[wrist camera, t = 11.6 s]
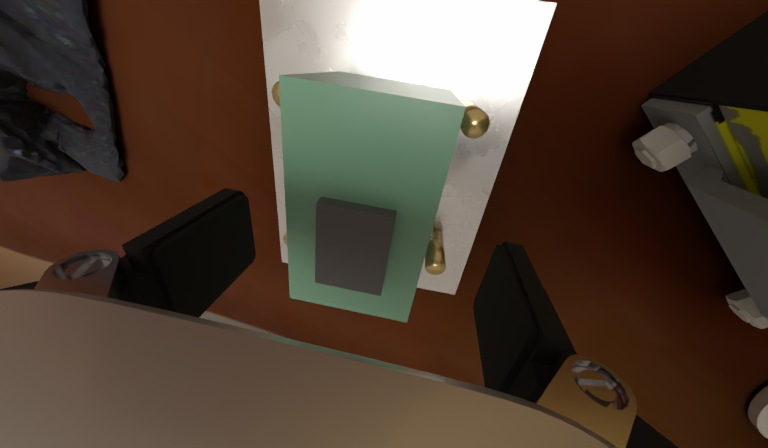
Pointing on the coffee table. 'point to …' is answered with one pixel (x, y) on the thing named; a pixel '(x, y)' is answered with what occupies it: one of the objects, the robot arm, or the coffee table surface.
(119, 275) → the robot arm
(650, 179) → the coffee table surface
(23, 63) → the dark slate chunk
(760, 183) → the electrical component
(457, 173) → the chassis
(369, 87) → the green block
